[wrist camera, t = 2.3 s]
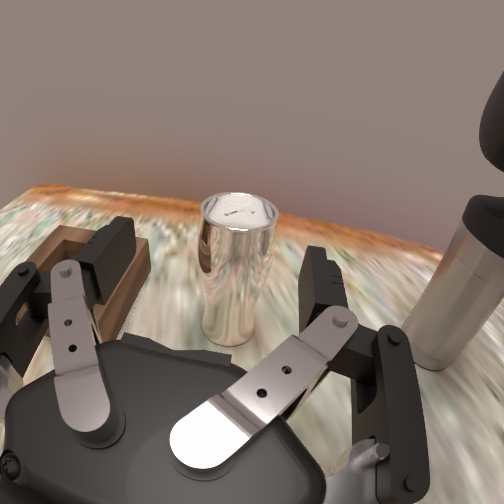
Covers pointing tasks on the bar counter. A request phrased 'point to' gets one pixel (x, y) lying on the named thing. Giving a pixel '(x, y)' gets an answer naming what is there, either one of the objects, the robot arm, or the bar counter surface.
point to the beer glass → (234, 262)
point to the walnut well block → (120, 302)
